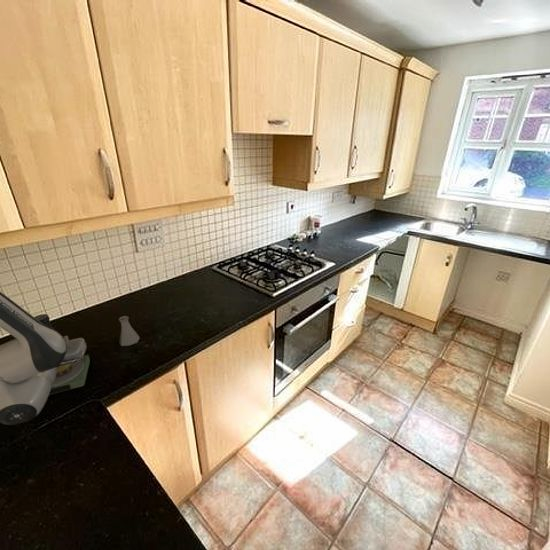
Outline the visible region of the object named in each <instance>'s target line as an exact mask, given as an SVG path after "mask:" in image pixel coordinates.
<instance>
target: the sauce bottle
mask: <svg viewBox="0 0 550 550" xmlns="http://www.w3.org/2000/svg"><path fill="white" fill-rule="evenodd" d="M33 317H34V318H36V319H37V320H38V321H40V322H41V323H43V324H44V325H46V326H48V327H50V328H52V329H54V330H55V331H57V330H56V329H55V328H54V327H53V325H52V323H51V321H50V317H49V315H48V314H47V313H41V314H38V315H35V316H33ZM72 367H73V365H72V363H70V364H66V365H62V366H59V369H58V371H57V374H56V377H59V376H62V375H65V374H67V373H68V372H70V371H71V369H72Z"/></svg>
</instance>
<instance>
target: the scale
mask: <svg viewBox="0 0 550 550" xmlns="http://www.w3.org/2000/svg"><path fill="white" fill-rule="evenodd" d="M90 362H91V359H90V356H89V354H86V355H85V354H84V355H83V358H81V359H80V360H79V361H77V362H74V363H72V365H73V367H72V369H71V371H70V372H68V373H67V374H65V375H62V376H59V377H55V380H54V382H53V383H52V385H51V390H50V393H49V396H51V395H55V394H58V393H63V392H65V391H69V390H73V389H78V388H81V387H84V386H85V385H86V380H87V375H88V371H89V367H90Z"/></svg>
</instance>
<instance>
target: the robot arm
mask: <svg viewBox="0 0 550 550" xmlns="http://www.w3.org/2000/svg"><path fill="white" fill-rule="evenodd" d="M34 317H35V316H33V315H32V314H31V313H29V312H28V311H27V310H26V309H24V308H23V307H21V306H20V305H19V304H18V303H16V302H15V301H14V300H12V299H11V298H10V297H8V296H7V295H6V294H5V293H3V292H2V291H0V328H1V330H4V331H5V332H6V333H8V334H9V335H10V336H12V337H13V338H14V339H11V340H9V341H7V342H4V343H2V344H0V424H2V425H7V426H16V425H21V424H24V423H27V422H29V421H31V420H33V419H35V418H36V417H37V416H38V415H39V414H40V413H41V412H42V410H43V408H44V407H45V405H46V403H47V401H48V398H49V396H50V395H49V393H50V390H51V385H52V383H53V382H54V380H55V377H56V374H57V371H58V369H59V366H62V365H66V364H70V363H74V362H77V361H79V360H80V359H81V358H83V356H85V353H86V351H87V343H86V341H85V340H86V339H84V338H82V337H79V338H73V339H69V336H68V335H64V336H62V334H61V333H60V332H59V331H58V330H56V329H55V328H54V329H55V330H56V331H55V330H54V329H52V328H50V327H48V326H46V325H44V324H43V323H41V322H40V321H38V320H37V319H36V318H34Z"/></svg>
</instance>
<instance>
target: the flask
mask: <svg viewBox="0 0 550 550" xmlns="http://www.w3.org/2000/svg"><path fill="white" fill-rule="evenodd" d="M118 321H119V322H120V333H119V334H120V335H119V340H118V343H119V345H120V346H121V347H128V346H132V345H134V344H137V343H138V342H139V341H140V336H139V334H138V333H137V332H136V331H135V329H134V328H133V327H132V326H131V324H130V322H129V316H128V315H123V316H120V317H119V318H118Z"/></svg>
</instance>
